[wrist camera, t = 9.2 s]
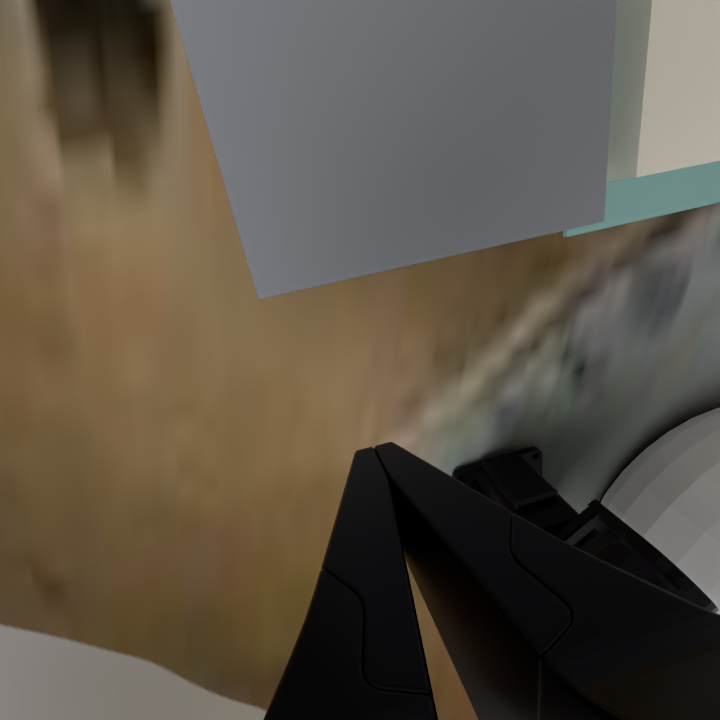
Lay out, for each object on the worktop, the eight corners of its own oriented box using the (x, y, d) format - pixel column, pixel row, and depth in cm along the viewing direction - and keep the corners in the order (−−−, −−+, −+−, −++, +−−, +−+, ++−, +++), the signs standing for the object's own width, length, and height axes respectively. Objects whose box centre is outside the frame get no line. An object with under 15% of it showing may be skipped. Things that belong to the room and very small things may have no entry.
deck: (546, 222, 21) (604, 221, 17) (262, 284, 19) (258, 299, 15) (547, -65, 16) (625, -149, 13) (176, -19, 14) (139, -102, 11)
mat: (781, 187, 23) (787, 186, 23) (562, 236, 21) (566, 237, 21) (850, -130, 18) (859, -136, 17) (568, -98, 16) (574, -104, 16)
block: (636, 177, 18) (603, 181, 20) (738, 156, 19) (697, 162, 21) (658, -65, 15) (617, -33, 17) (780, -79, 16) (728, -48, 18)
